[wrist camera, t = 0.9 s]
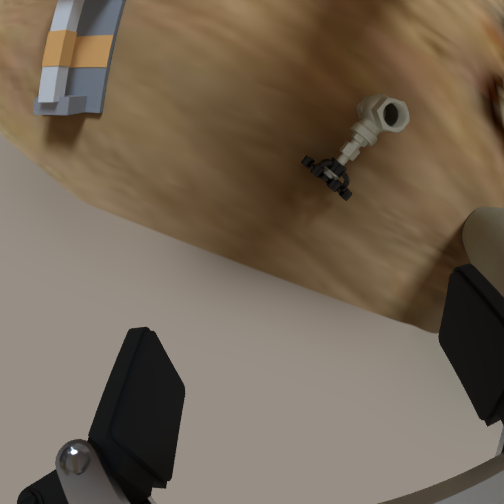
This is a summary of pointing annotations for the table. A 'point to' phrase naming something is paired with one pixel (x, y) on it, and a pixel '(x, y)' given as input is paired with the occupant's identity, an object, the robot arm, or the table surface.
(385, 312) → the table surface
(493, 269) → the plant pot
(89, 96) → the rail
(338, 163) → the valve
